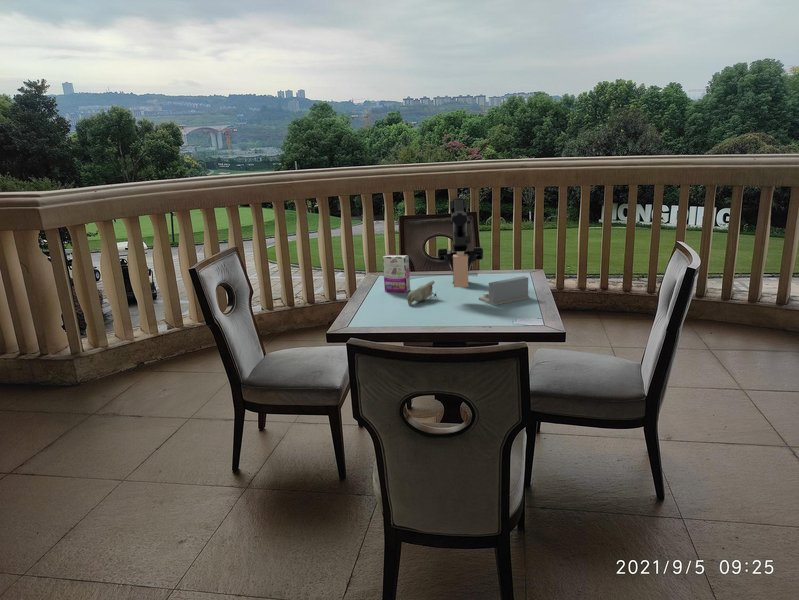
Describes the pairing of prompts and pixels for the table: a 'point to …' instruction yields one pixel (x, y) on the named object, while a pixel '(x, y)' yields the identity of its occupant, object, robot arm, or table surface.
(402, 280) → the candy bar box
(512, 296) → the wall board
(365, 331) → the table surface
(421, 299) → the decorative bird
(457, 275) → the tan tall block
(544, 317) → the table surface
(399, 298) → the table surface
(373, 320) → the table surface
